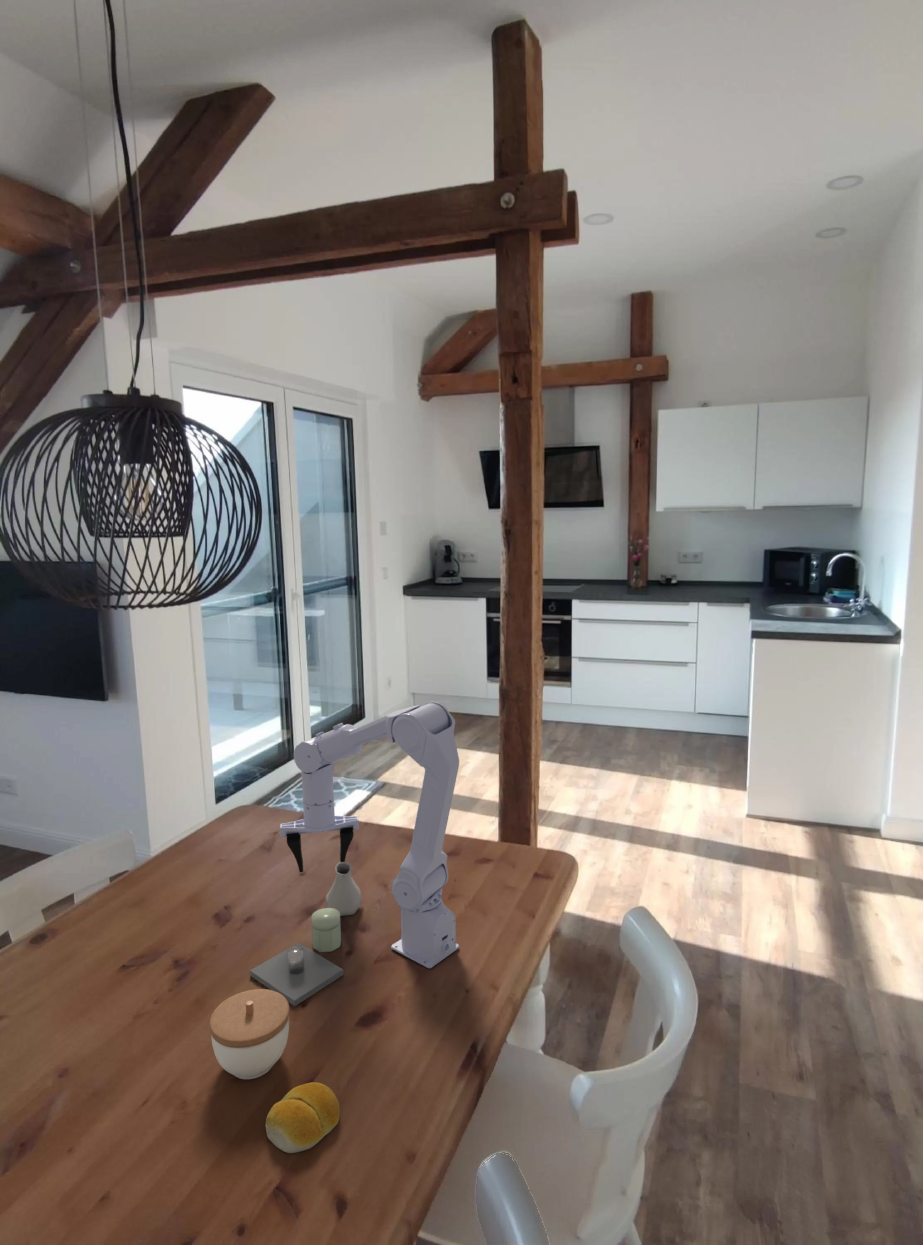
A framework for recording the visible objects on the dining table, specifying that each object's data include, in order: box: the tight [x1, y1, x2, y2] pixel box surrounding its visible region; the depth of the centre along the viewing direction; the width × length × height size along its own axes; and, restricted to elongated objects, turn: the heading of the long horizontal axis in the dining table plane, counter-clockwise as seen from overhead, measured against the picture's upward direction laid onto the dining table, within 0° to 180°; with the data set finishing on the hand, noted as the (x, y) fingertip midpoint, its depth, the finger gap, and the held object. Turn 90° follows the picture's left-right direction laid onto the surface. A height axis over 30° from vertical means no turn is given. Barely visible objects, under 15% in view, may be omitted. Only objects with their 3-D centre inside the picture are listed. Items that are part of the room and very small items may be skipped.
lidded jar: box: [209, 988, 291, 1081], centre depth 101 cm, size 11×11×9 cm
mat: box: [249, 942, 344, 1007], centre depth 121 cm, size 12×10×1 cm
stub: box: [288, 946, 304, 975], centre depth 121 cm, size 2×2×4 cm
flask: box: [325, 860, 363, 917], centre depth 139 cm, size 7×7×10 cm
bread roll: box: [264, 1081, 341, 1154], centre depth 92 cm, size 8×9×4 cm
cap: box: [311, 907, 342, 953], centre depth 129 cm, size 5×5×6 cm
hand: (321, 867), depth 138 cm, fingers open, 7 cm apart
